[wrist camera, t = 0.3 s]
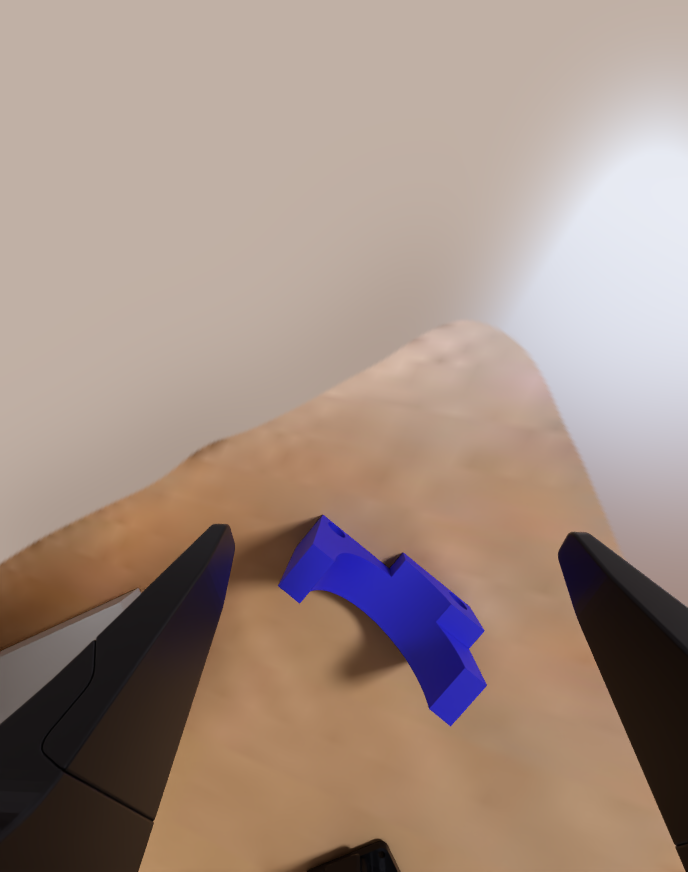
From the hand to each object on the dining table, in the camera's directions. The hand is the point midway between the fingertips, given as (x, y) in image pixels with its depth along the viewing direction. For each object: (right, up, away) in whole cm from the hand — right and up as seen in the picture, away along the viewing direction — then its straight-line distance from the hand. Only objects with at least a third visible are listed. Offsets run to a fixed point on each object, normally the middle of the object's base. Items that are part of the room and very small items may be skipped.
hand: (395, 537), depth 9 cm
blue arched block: (+1, -7, +16) cm, 17 cm away
